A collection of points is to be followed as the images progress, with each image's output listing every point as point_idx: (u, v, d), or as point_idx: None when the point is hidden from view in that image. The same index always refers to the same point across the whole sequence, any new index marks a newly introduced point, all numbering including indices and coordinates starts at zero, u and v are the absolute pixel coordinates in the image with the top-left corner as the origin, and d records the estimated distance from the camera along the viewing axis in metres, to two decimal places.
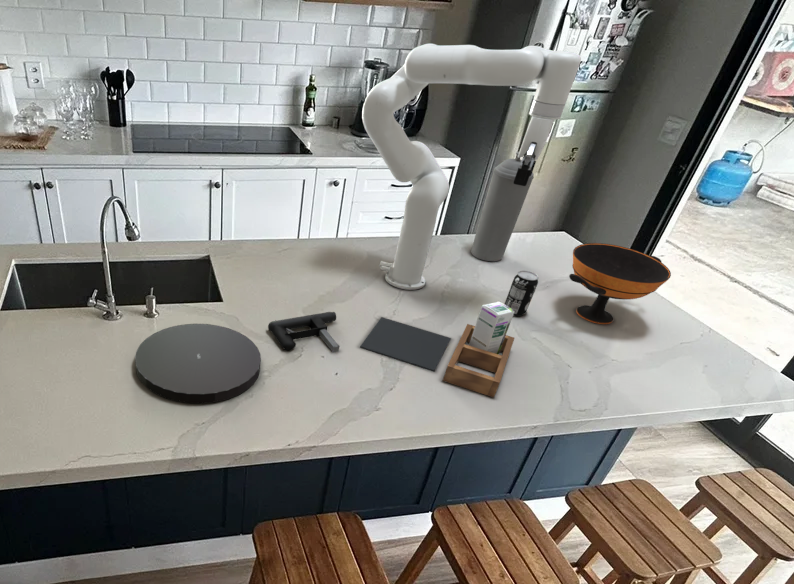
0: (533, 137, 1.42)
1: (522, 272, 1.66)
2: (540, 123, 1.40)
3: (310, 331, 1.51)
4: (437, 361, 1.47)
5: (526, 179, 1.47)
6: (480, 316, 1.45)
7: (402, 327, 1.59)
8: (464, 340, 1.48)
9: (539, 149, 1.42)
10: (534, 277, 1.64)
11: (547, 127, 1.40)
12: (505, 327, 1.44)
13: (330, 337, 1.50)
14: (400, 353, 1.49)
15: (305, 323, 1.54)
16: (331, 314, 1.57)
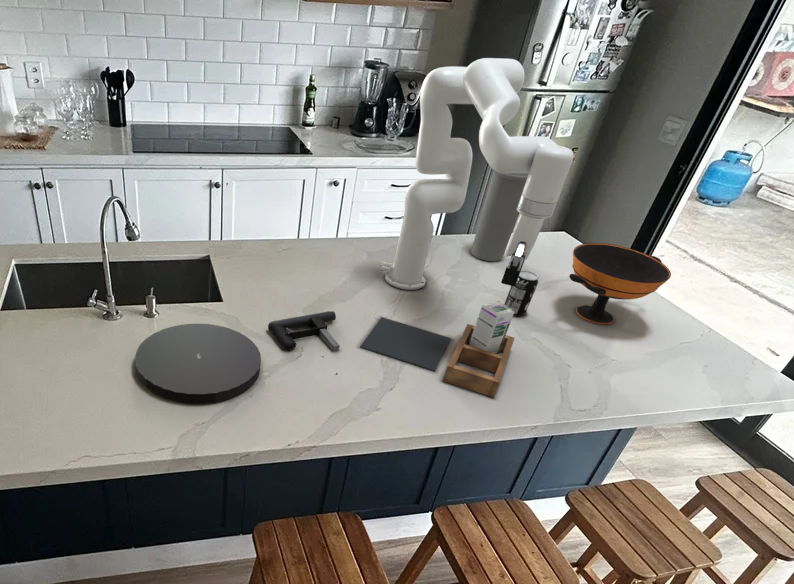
0: (522, 236, 1.27)
1: (522, 272, 1.66)
2: (530, 223, 1.25)
3: (310, 331, 1.51)
4: (437, 361, 1.47)
5: (515, 279, 1.32)
6: (480, 316, 1.45)
7: (402, 327, 1.59)
8: (464, 340, 1.48)
9: (529, 249, 1.28)
10: (534, 277, 1.64)
11: (537, 227, 1.25)
12: (505, 327, 1.44)
13: (330, 336, 1.50)
14: (400, 353, 1.49)
15: (304, 323, 1.54)
16: (330, 313, 1.57)
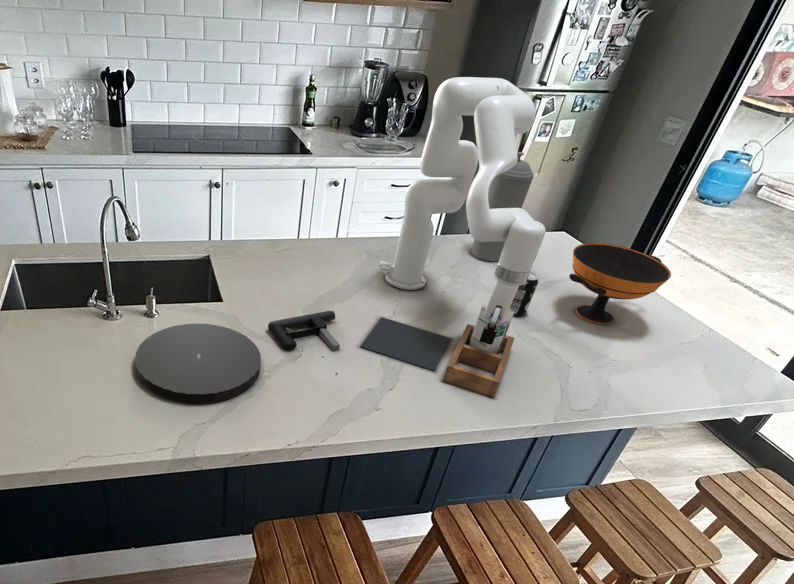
0: (498, 301, 1.37)
1: None
2: (505, 289, 1.35)
3: (310, 330, 1.51)
4: (437, 361, 1.47)
5: (492, 339, 1.43)
6: (480, 316, 1.45)
7: (402, 327, 1.59)
8: (464, 340, 1.48)
9: (505, 312, 1.37)
10: (534, 277, 1.64)
11: (512, 293, 1.35)
12: (505, 327, 1.44)
13: (330, 336, 1.50)
14: (400, 353, 1.49)
15: (304, 323, 1.55)
16: (330, 313, 1.57)
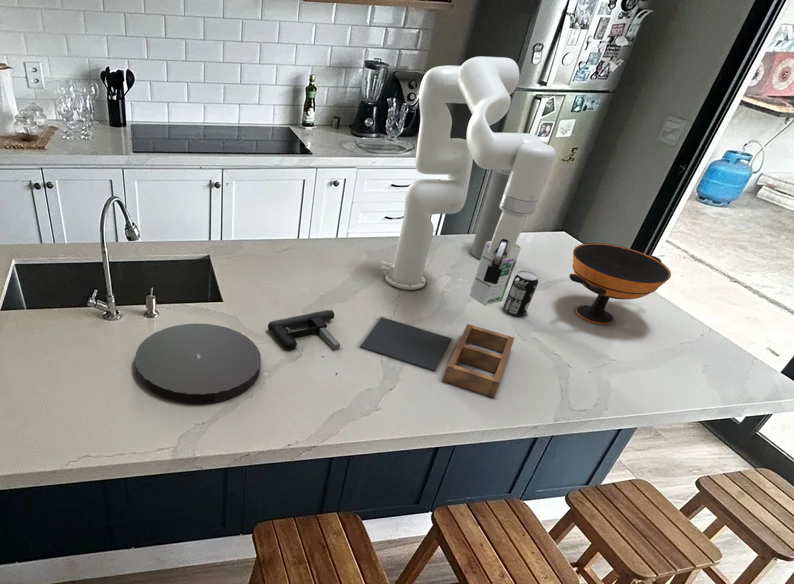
0: (504, 234, 1.27)
1: (522, 272, 1.66)
2: (511, 220, 1.25)
3: (310, 330, 1.52)
4: (437, 361, 1.47)
5: (497, 277, 1.33)
6: (484, 254, 1.35)
7: (402, 327, 1.59)
8: (464, 340, 1.48)
9: (511, 247, 1.28)
10: (534, 277, 1.64)
11: (519, 224, 1.25)
12: (511, 265, 1.34)
13: (330, 335, 1.51)
14: (400, 353, 1.49)
15: (304, 322, 1.55)
16: (329, 312, 1.58)
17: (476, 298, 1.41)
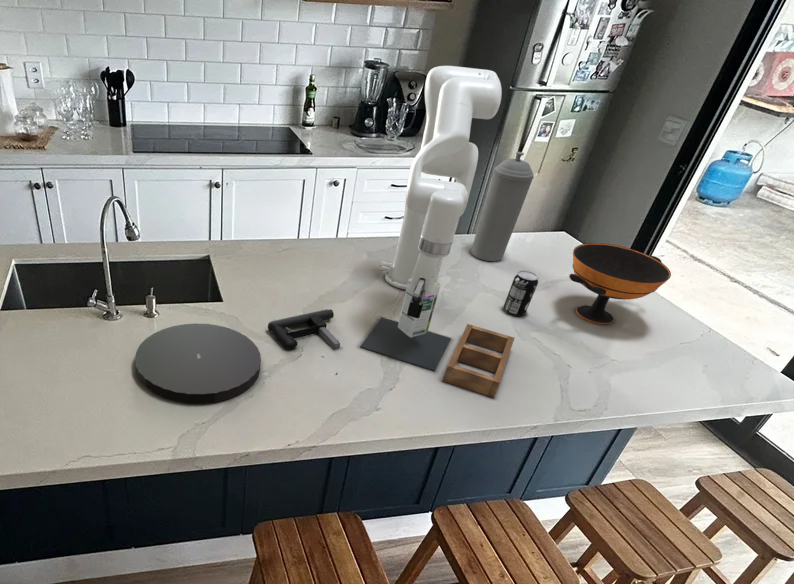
0: (421, 273, 1.37)
1: (522, 272, 1.66)
2: (427, 261, 1.35)
3: (310, 329, 1.52)
4: (437, 361, 1.47)
5: (419, 312, 1.43)
6: (407, 290, 1.45)
7: None
8: (464, 340, 1.48)
9: (428, 285, 1.38)
10: (534, 277, 1.64)
11: (434, 265, 1.35)
12: (432, 301, 1.44)
13: (330, 335, 1.51)
14: (400, 353, 1.49)
15: (303, 322, 1.55)
16: (328, 312, 1.58)
17: (403, 330, 1.50)
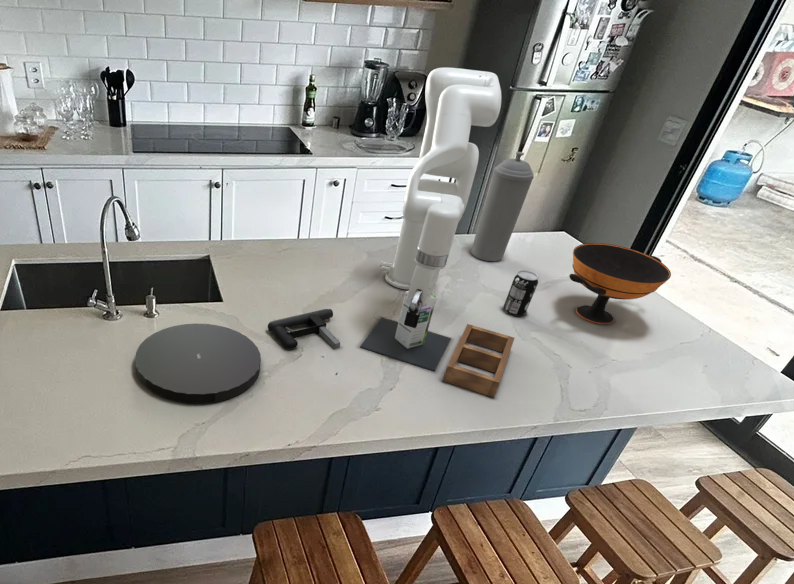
0: (418, 285, 1.39)
1: (522, 272, 1.66)
2: (424, 273, 1.37)
3: (310, 329, 1.52)
4: (437, 361, 1.47)
5: (415, 322, 1.44)
6: (404, 302, 1.47)
7: None
8: (464, 340, 1.48)
9: (425, 296, 1.39)
10: (534, 277, 1.64)
11: (431, 276, 1.37)
12: (429, 313, 1.46)
13: (330, 334, 1.51)
14: (400, 353, 1.49)
15: (303, 322, 1.55)
16: (328, 311, 1.58)
17: (400, 341, 1.52)
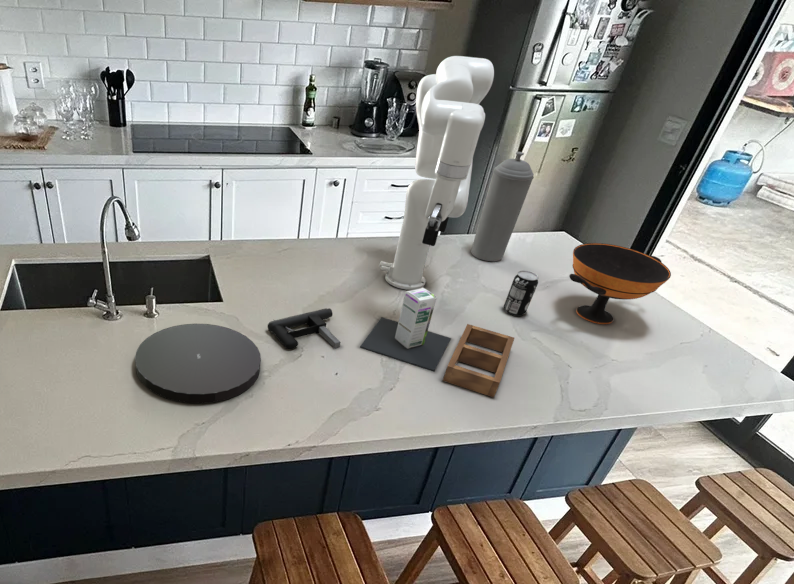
0: (438, 198, 1.35)
1: (522, 272, 1.66)
2: (444, 185, 1.33)
3: (310, 329, 1.52)
4: (437, 361, 1.47)
5: (434, 239, 1.41)
6: (404, 302, 1.47)
7: None
8: (464, 340, 1.48)
9: (445, 210, 1.36)
10: (534, 277, 1.64)
11: (451, 189, 1.33)
12: (429, 313, 1.46)
13: (330, 334, 1.51)
14: (400, 353, 1.49)
15: (303, 321, 1.55)
16: (327, 311, 1.58)
17: (400, 341, 1.52)
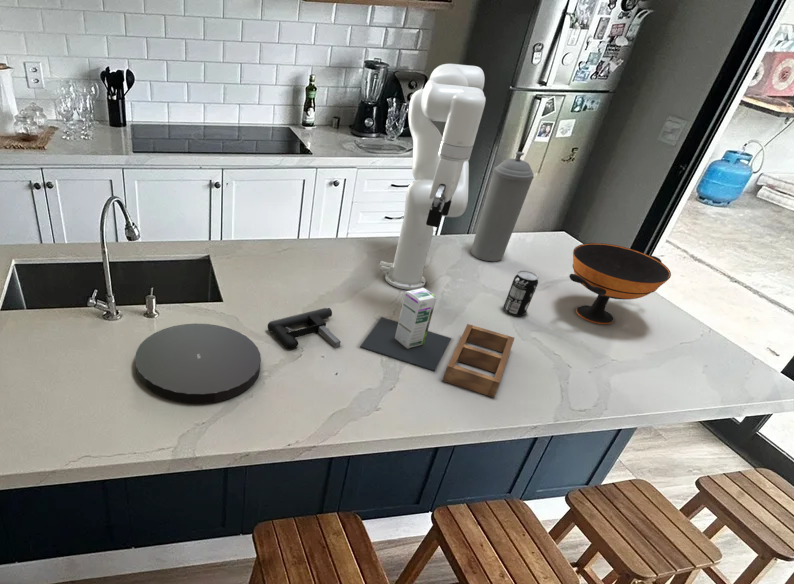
0: (442, 179, 1.38)
1: (522, 272, 1.66)
2: (448, 166, 1.36)
3: (310, 328, 1.52)
4: (437, 361, 1.47)
5: (438, 220, 1.43)
6: (404, 302, 1.47)
7: None
8: (464, 340, 1.48)
9: (448, 191, 1.39)
10: (534, 277, 1.64)
11: (455, 169, 1.36)
12: (428, 313, 1.46)
13: (330, 333, 1.51)
14: (400, 353, 1.49)
15: (303, 321, 1.55)
16: (327, 310, 1.59)
17: (400, 341, 1.52)
